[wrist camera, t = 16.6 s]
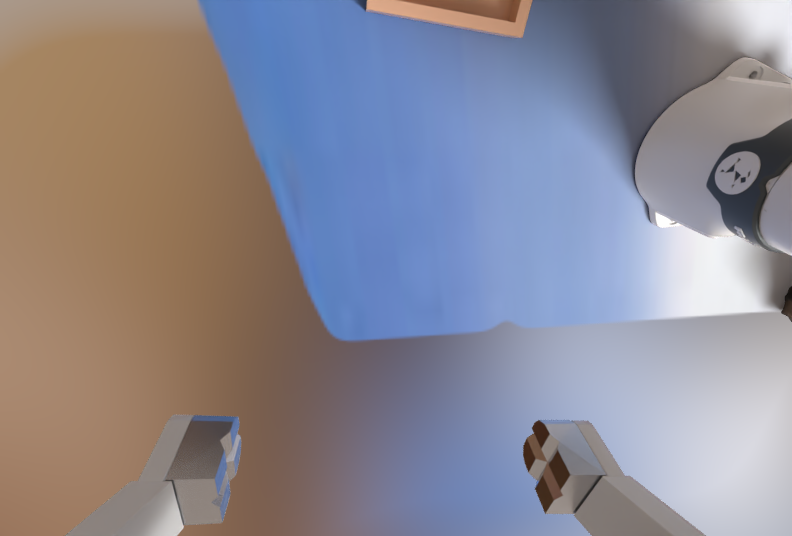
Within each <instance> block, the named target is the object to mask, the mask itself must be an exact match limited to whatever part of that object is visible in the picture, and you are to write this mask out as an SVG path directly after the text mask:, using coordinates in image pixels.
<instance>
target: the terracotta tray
mask: <svg viewBox="0 0 792 536" xmlns="http://www.w3.org/2000/svg"><path fill="white" fill-rule="evenodd" d="M531 4H532V0H367V2H366V12H372V13H377V14H383V15H388V16H394V17H399V18H405V19H410V20H416V21H421V22H427V23H432V24H438V25H443V26H449V27H454V28H460V29H465V30H471V31H476V32H482V33H487V34H492V35H498V36H503V37H509V38H522V37H523V33H524V30H525V26H526V22H527V18H528V15H529V11H530V7H531Z"/></svg>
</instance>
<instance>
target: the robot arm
mask: <svg viewBox="0 0 792 536" xmlns="http://www.w3.org/2000/svg"><path fill="white" fill-rule="evenodd" d="M750 74H751V75H750ZM749 75H750V77H749ZM635 181H636V185H637V188H638V191H639V193H640V194H641V196H642V197H643V199H644V200H645V201H646V203H647V204H648V206H649V215H650V220H651V223H652V224H653V225H656V226H658V227H661V228H664V227H675V226H685V227H687V228H690V229H692V230H694V231H696V232H698V233H700V234H702V235H705V236H707V237H709V238H713V239H716V238H718V237H729V236H735V235H737V236H739V237H741V238H743V240H745V241H747V242H749V243H751V244H753V245H755V246H758V247H762V248H765V249H767V250H769V251H773V252H778V253H787V254H789V255H791V256H792V79H791V78H789V77H787V76H785V75H783V74H782V73H780V72H778V71H776V70H774V69H772V68H770V67H769V66H767V65H765V64H763V63H761V62H759V61H758V60H756V59H752V58H747V57H743V58H740V59H738V60H736V61H735V62H733V63H732V64H731V65H730V66H728V67H727V68H726V69H725V70H724V71H723V72H722V73H720V74H719V75H718V76H717V77H716V78H715V79H713V80H712V81H710V82H708V83H707V84H704V85H702V86H700V87H698V88H696V89H694V90H692V91H690V92H689V93H687V94H685V95H684V96H682V97H681V98H679V99H678V100H677V101H675V102H674V103H673V104H672V105H671V106H670V107H669V108H667V109H666V110H665V111H664V112H663V114H662V115H661V116H660V117H659V118H658V119H657V120H656V122H655V123H654V124H653V126H652V127H651V129H650V130H649V132H648V133H647V135H646V137H645V139H644V141H643V143H642V145H641V147H640V150H639V153H638V156H637V160H636V166H635ZM238 429H239V419H238V417H231V416H229V417H228V416H202V415H173V416H172V417H171V418H170V419H169V420H168V421H167V423H166V425H165V427H164V429H163V431H162V433H161V435H160V437H159V439H158V441H157V443H156V445H155V447H154V449H153V451H152V453H151V455H150V457H149V459H148V462H147V463H146V465H145V468H144V469H143V472H142V473H141V475H140V477H139V480H138V481H131V482H129V483H128V484H127V485H126V486H124V487H123V488H122V489H121V490H120V491H119V492H117V493H116V494H115V495H114V496H112V497H111V498H110V499H109V500H107V501H106V502H105V503H104V504H103V505H102V506H100V507H99V508H98V509H97V510H95V511H94V512H93V513H92V514H90V515H89V516H88V517H87V518H86V519H84V520H83V521H82V522H81V523H80V524H78V525H77V526H76V527H75V528H74V529H72V530H71V531H70V532H69V533H67V534H66V535H65V536H177V535H178V534H179V533H180V531H181V530H182V529H183V528H184V527H183V525H196V524H212V523H222V522H223V519H224V515H225V512H226V508H227V504H228V501H229V497H230V486H229V481H230V480H231V479H232V478H233V477H234V476H235V475H236V472H237V468H238V464H239V458H240V453H241V436H240V435H238V434H237V432H238ZM532 430H533V432H534V434H532V435H531V436H529V437H528V438H527V439H526V441H525V443H524V445H523V457H524V461H525V465H526V468H527V470H528V472H529V473H530V474H531V475H532V476H533V477H534V478H535V479H536V480H537V482H536V487H535V490H536V492H537V494H538V497H539V500H540V502H541V505H542V507H543V509H544V512H545V514H575V515H574V516H575V517H576V519H577V520H578V521H579V522H580V523H581V524H582V525H583V526H584V527H585V528H586V530H587V531H588V532H589V533H590V534H591V535H592V536H706V535H704V534H703V533H702V532H701V531H699V530H698V529H696V528H695V527H694V526H693V525H692V524H690V523H689V522H688V521H686V520H685V519H684V518H683V517H681V516H680V515H679V514H678V513H676V512H675V511H674V510H673V509H671V508H670V507H669V506H668V505H666V504H665V503H664V502H662V501H661V500H660V499H659V498H657V497H656V496H655V495H654V494H652V493H651V492H650V491H648V490H647V489H646V488H645V487H643V486H642V485H641V484H640V483H638V482H637V481H636V480H634V479H633V478H632V477H631V476H625V475H624V473H623V472H622V470H621V469H620V467H619V465H618V464H617V462H616V461H615V459H614V458H613V456H612V454H611V453H610V451H609V450H608V448H607V447H606V445H605V443H604V442H603V440H602V439H601V437H600V436H599V434H598V432H597V431H596V429H595V428H594V426H593V425H592V424H591V423H590V422H589V421H570V420H538V421H536V422H535V423H534V425H533V427H532Z"/></svg>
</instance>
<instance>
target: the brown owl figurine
mask: <svg viewBox="0 0 792 536" xmlns="http://www.w3.org/2000/svg"><path fill="white" fill-rule="evenodd" d="M781 313H782V314H784V315H786V316H788V317H789V319H790V320H791V322H792V287H790V288H789V290H788V293H787V295H786V296H785V305H784V308H783V310H782V312H781Z"/></svg>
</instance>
